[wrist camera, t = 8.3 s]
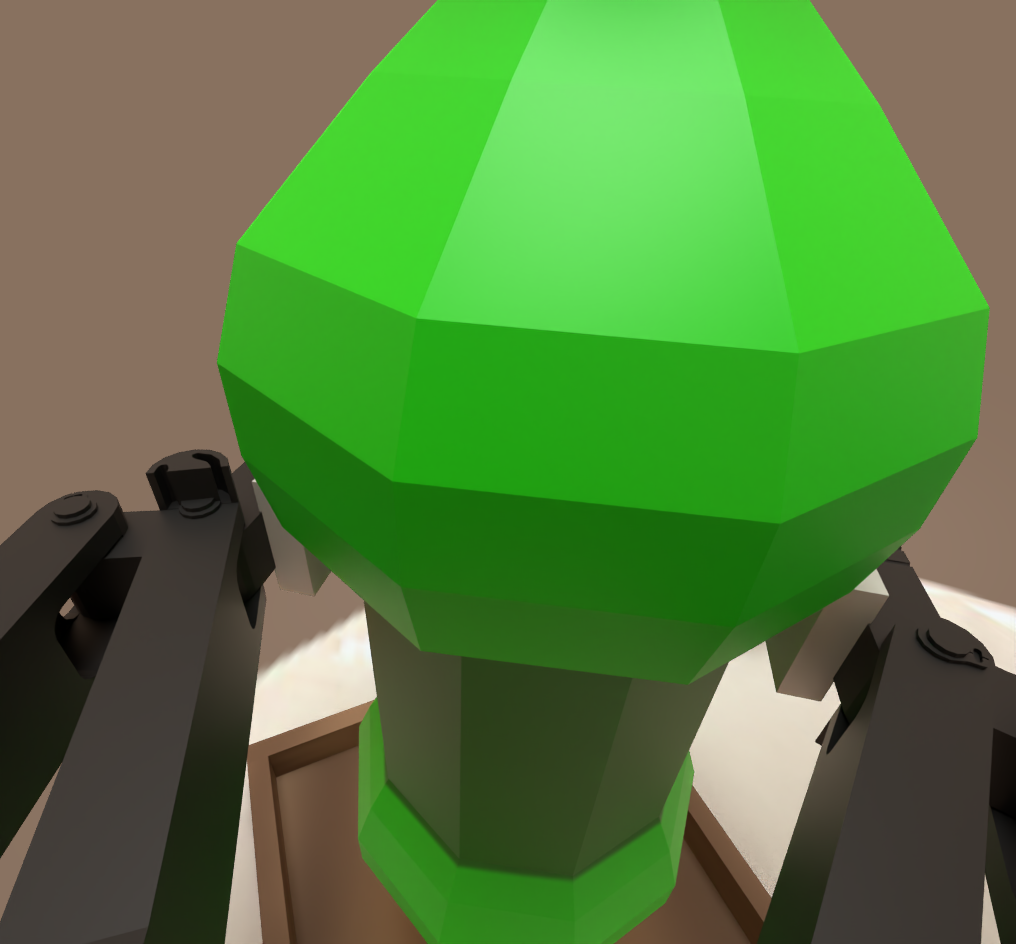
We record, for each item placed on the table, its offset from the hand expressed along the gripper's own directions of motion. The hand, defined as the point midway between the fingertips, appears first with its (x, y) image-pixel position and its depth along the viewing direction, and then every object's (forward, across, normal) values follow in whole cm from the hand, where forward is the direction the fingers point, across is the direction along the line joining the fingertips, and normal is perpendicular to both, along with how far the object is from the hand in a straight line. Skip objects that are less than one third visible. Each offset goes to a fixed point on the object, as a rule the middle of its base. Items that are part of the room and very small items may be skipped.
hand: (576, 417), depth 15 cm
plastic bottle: (-5, 0, -13) cm, 14 cm away
